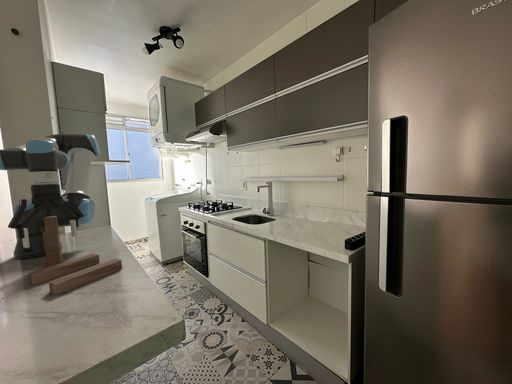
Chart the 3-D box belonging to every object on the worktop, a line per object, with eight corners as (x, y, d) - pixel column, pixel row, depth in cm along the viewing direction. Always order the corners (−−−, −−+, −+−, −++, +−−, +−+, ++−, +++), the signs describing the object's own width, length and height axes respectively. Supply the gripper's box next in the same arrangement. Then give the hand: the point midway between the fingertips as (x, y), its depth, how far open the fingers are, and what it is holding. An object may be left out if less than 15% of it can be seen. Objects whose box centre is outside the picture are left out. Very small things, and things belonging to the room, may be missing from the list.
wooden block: (47, 271, 75) (41, 220, 74) (50, 262, 84) (44, 217, 82) (61, 268, 78) (55, 219, 76) (62, 260, 86) (57, 215, 84)
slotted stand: (29, 282, 67) (28, 273, 67) (93, 260, 83) (92, 253, 83) (56, 295, 59) (55, 284, 59) (122, 268, 75) (121, 259, 75)
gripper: (-4, 185, 65) (6, 254, 67) (90, 181, 87) (95, 233, 89) (-12, 186, 69) (-3, 251, 70) (80, 182, 91) (85, 232, 92)
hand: (52, 241), depth 80 cm, fingers open, 13 cm apart
